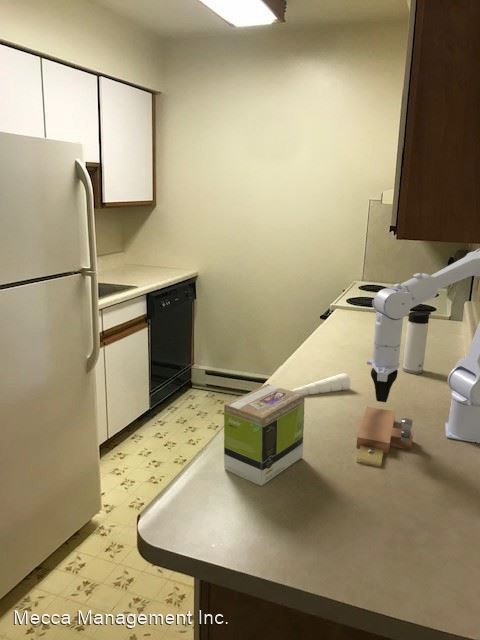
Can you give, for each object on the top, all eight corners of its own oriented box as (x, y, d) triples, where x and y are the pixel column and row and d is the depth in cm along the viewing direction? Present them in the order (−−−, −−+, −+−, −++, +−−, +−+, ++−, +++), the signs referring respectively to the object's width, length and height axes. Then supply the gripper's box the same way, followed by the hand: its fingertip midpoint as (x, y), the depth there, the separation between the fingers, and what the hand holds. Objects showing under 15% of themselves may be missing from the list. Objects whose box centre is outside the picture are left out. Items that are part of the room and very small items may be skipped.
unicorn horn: (269, 394, 142) (270, 378, 140) (342, 386, 149) (343, 370, 148) (275, 400, 137) (276, 384, 136) (351, 391, 145) (352, 376, 144)
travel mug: (425, 375, 160) (432, 314, 155) (403, 373, 161) (410, 312, 156) (422, 368, 166) (429, 310, 161) (401, 366, 167) (407, 308, 162)
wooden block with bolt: (383, 455, 110) (383, 448, 109) (380, 469, 104) (381, 461, 104) (360, 451, 112) (360, 443, 111) (356, 464, 106) (357, 456, 106)
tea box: (265, 443, 113) (268, 381, 109) (303, 458, 107) (307, 394, 103) (221, 469, 102) (223, 402, 98) (261, 488, 96) (264, 417, 92)
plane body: (413, 423, 125) (415, 407, 124) (410, 457, 108) (412, 439, 107) (366, 415, 129) (367, 400, 128) (356, 447, 112) (357, 429, 111)
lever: (401, 423, 115) (402, 414, 114) (412, 425, 114) (413, 416, 113) (398, 442, 106) (400, 432, 105) (410, 444, 105) (412, 434, 104)
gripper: (371, 333, 118) (367, 387, 121) (364, 350, 105) (359, 410, 108) (402, 336, 116) (397, 391, 119) (399, 354, 103) (393, 415, 106)
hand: (381, 400), depth 114 cm, fingers closed
